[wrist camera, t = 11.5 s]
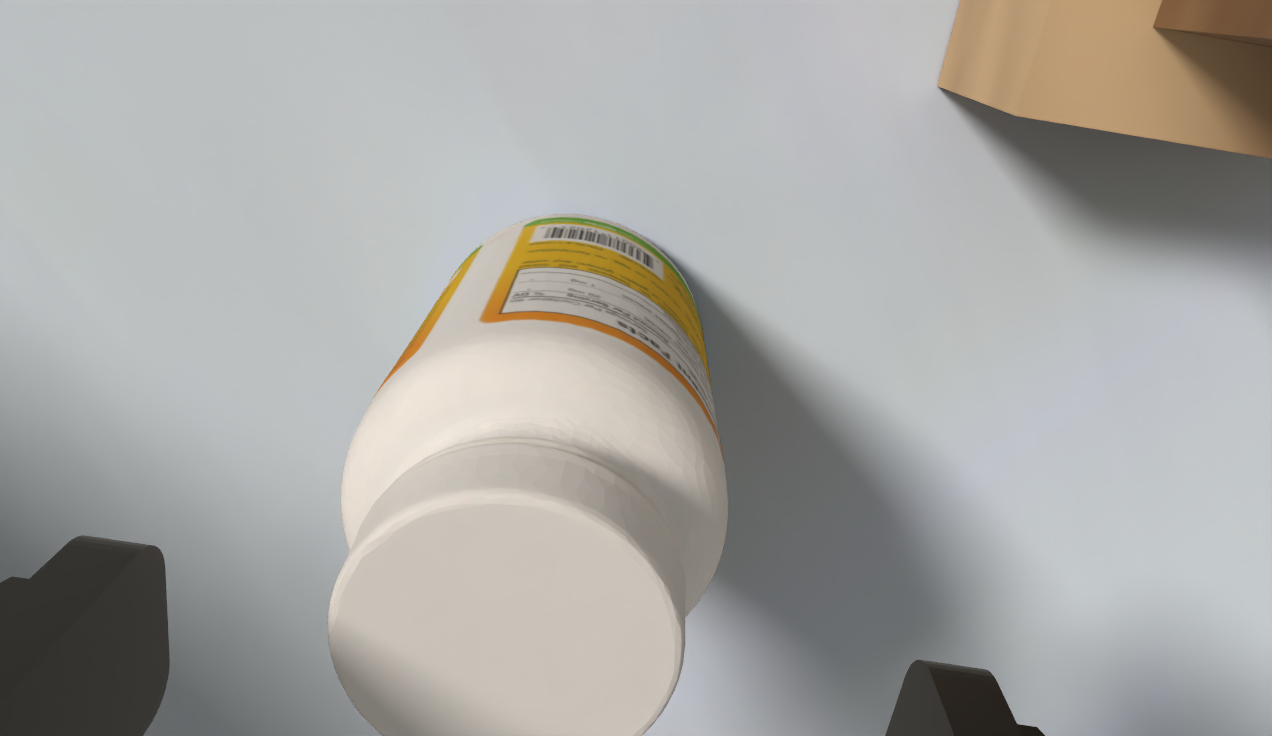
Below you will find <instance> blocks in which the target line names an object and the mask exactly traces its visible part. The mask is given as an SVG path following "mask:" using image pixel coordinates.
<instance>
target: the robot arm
mask: <svg viewBox="0 0 1272 736" xmlns="http://www.w3.org/2000/svg"><path fill="white" fill-rule="evenodd" d="M168 674H169V640H168V619H167V598H166V578H165V563H164V558H163V554H162V552H161V550H160V549H159V548H158V547H156V546H152V545H145V544H138V543H131V542H125V541H118V540H111V539H104V538H97V537H90V536H79V537H76V538H74V539H72V540H71V541H70V542H69V543H67V544H66V545H65V546H64V547H63V548H62V549H61V550H60V551H59V552H58V553H57V554H56V555H55V556H53V557H52V558H51V559H50V560H49V561H48V562H47V563H46V564H45V565H44V566H43V567H42V568H41V569H40V570H39V571H37V572H36V573H35V574H34V575H33V576H32V577H31V578H30V579H25V578H18V577H11V578H9V579H7V580H5V581H3V582H1V583H0V736H143V734H144V733H145V731H146V730H147V728H148V727H149V725H150V724H151V722H152V721H153V719H154V717H155V715H156V713H157V711H158V708H159V706H160V703H161V701H162V698H163V695H164V692H165V688H166V684H167V680H168ZM886 736H1045V735H1044V734H1043V733H1042V732H1041V731H1040V730H1039V729H1038V728H1037V727H1032V726H1025V725H1018V724H1017V723H1016V721H1015V719H1014V717H1013V715H1012V713H1011V710H1010V708H1009V706H1008V704H1007V702H1006V700H1005V698H1004V696H1003V693H1002V691H1001V689H1000V687H999V685H998V683H997V681H996V679H995V677H994V676H993V675H992V674H991V672H989V671H988V670H984V669H978V668H971V667H965V666H958V665H951V664H944V663H937V662H930V661H924V660H916V661H915V662H913V663H912V664H911V666H910V667H909V669H908V671H907V673H906V676H905V679H904V682H903V685H902V688H901V691H900V694H899V697H898V700H897V703H896V706H895V709H894V712H893V715H892V718H891V721H890V724H889V727H888V730H887V733H886Z"/></svg>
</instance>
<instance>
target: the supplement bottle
mask: <svg viewBox="0 0 1272 736" xmlns="http://www.w3.org/2000/svg"><path fill="white" fill-rule="evenodd" d="M728 509H729V508H728V493H727V482H726V473H725V464H724V459H723V454H722V448H721V441H720V438H719V432H718V426H717V420H716V414H715V408H714V400H713V395H712V389H711V382H710V375H709V369H708V362H707V356H706V350H705V344H704V337H703V332H702V326H701V322H700V318H699V314H698V310H697V307H696V304H695V301H694V298H693V295H692V293H691V291H690V289H689V287H688V285H687V283H686V281H685V279H684V278H683V276H682V275H681V273H680V272H679V270H678V269H677V268H676V266H675V265H674V264H673V263H672V262H671V261H670V259H669V258H668V257H667V256H666V255H665V254H664V253H663V252H661V251H660V250H659V249H658V248H657V247H656V246H655V245H653V244H652V243H651V242H649V241H648V240H647V239H645V238H644V237H642V236H641V235H639V234H637V233H636V232H634V231H632V230H630V229H628V228H626V227H624V226H622V225H619V224H617V223H614V222H611V221H609V220H605V219H601V218H598V217H592V216H587V215H579V214H553V215H545V216H539V217H535V218H531V219H527V220H524V221H522V222H519V223H516V224H513V225H511V226H509V227H507V228H505V229H503V230H501V231H499V232H497V233H496V234H494V235H493V236H491V237H489V238H488V239H487V240H486V241H484V242H483V243H482V244H480V245H479V246H478V247H477V248H476V249H475V250H474V251H473V252H472V253H471V254H470V255H469V256H468V257H467V258H466V260H465V261H464V262H463V263H462V264H461V266H460V267H459V268H458V269H457V271H456V272H455V273H454V275H453V276H452V278H451V279H450V281H449V283H448V284H447V286H446V287H445V289H444V290H443V292H442V294H441V296H440V297H439V299H438V300H437V302H436V303H435V305H434V306H433V308H432V310H431V311H430V313H429V314H428V316H427V317H426V319H425V320H424V322H423V323H422V325H421V327H420V328H419V330H418V331H417V333H416V334H415V336H414V337H413V339H412V340H411V342H410V343H409V345H408V346H407V348H406V349H405V351H404V352H403V354H402V355H401V357H400V358H399V360H398V362H397V363H396V365H395V366H394V368H393V369H392V370H391V372H390V373H389V375H388V376H387V378H386V379H385V381H384V382H383V384H382V385H381V387H380V388H379V390H378V392H377V393H376V395H375V396H374V398H373V400H372V402H371V404H370V405H369V407H368V409H367V411H366V413H365V415H364V417H363V418H362V421H361V423H360V425H359V427H358V429H357V431H356V433H355V435H354V437H353V439H352V442H351V445H350V448H349V451H348V454H347V458H346V462H345V467H344V472H343V478H342V489H341V514H342V520H343V525H344V530H345V535H346V539H347V543H348V547H349V550H350V552H349V554H348V556H347V558H346V560H345V563H344V565H343V567H342V569H341V571H340V573H339V576H338V578H337V581H336V583H335V586H334V589H333V593H332V597H331V602H330V608H329V614H328V638H329V647H330V653H331V657H332V661H333V664H334V668H335V670H336V673H337V675H338V678H339V680H340V682H341V684H342V686H343V688H344V689H345V691H346V693H347V695H348V697H349V698H350V700H351V702H352V703H353V705H354V706H355V707H356V708H357V710H358V711H359V712H360V714H361V715H362V716H363V717H364V718H365V719H366V720H367V721H368V722H369V723H370V724H371V725H372V726H373V727H374V728H375V729H376V730H377V731H378V732H379V733H380V734H382V735H383V736H641V735H643V734H644V733H645V732H646V731H647V730H648V729H649V728H650V727H651V726H652V725H653V724H654V722H655V721H656V720H657V718H658V717H659V716H660V715H661V713H662V712H663V710H664V709H665V707H666V705H667V704H668V702H669V700H670V698H671V696H672V694H673V692H674V690H675V688H676V685H677V683H678V680H679V677H680V673H681V669H682V665H683V658H684V649H685V617H686V616H687V615H688V614H689V613H690V611H691V610H692V609H693V608H694V607H695V606H696V604H697V603H698V601H699V600H700V598H701V597H702V595H703V594H704V592H705V591H706V589H707V587H708V585H709V583H710V581H711V580H712V578H713V576H714V573H715V571H716V569H717V566H718V563H719V561H720V558H721V555H722V551H723V547H724V543H725V537H726V532H727V522H728Z"/></svg>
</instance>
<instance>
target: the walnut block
mask: <svg viewBox="0 0 1272 736" xmlns="http://www.w3.org/2000/svg"><path fill="white" fill-rule="evenodd" d="M1153 27H1156V28H1161V29H1167V30H1173V31H1179V32H1185V33H1191V34H1196V35H1202V36H1208V37H1214V38H1220V39H1226V40H1231V41H1237V42H1243V43H1249V44H1255V45H1261V46H1266V47H1272V0H1162V2H1161V5H1160V8H1159V10H1158V13H1157V16H1156V19H1155V22H1154V25H1153Z"/></svg>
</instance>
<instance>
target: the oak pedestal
mask: <svg viewBox="0 0 1272 736" xmlns="http://www.w3.org/2000/svg"><path fill="white" fill-rule="evenodd" d="M1161 2H1162V0H960V4H959V8H958V11H957V15H956V19H955V23H954V26H953V30H952V34H951V37H950V41H949V45H948V48H947V52H946V56H945V59H944V63H943V67H942V70H941V74H940V78H939V81H938V85H937V86H938V87H941V88H944V89H946V90H949V91H951V92H954V93H957V94H959V95H962V96H965V97H967V98H970V99H972V100H975V101H978V102H980V103H983V104H986V105H988V106H991V107H994V108H996V109H999V110H1001V111H1004V112H1007V113H1009V114H1012V115H1015V116H1019V117H1025V118H1031V119H1037V120H1043V121H1049V122H1055V123H1061V124H1067V125H1073V126H1079V127H1085V128H1091V129H1097V130H1103V131H1109V132H1115V133H1121V134H1127V135H1133V136H1139V137H1145V138H1151V139H1157V140H1163V141H1169V142H1175V143H1181V144H1187V145H1193V146H1199V147H1205V148H1211V149H1217V150H1223V151H1229V152H1235V153H1241V154H1247V155H1253V156H1259V157H1265V158H1271V159H1272V47H1266V46H1261V45H1255V44H1249V43H1243V42H1237V41H1231V40H1226V39H1220V38H1214V37H1208V36H1202V35H1196V34H1191V33H1185V32H1179V31H1173V30H1167V29H1161V28H1156V27H1153V25H1154V22H1155V19H1156V16H1157V13H1158V10H1159V8H1160V5H1161Z"/></svg>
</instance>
